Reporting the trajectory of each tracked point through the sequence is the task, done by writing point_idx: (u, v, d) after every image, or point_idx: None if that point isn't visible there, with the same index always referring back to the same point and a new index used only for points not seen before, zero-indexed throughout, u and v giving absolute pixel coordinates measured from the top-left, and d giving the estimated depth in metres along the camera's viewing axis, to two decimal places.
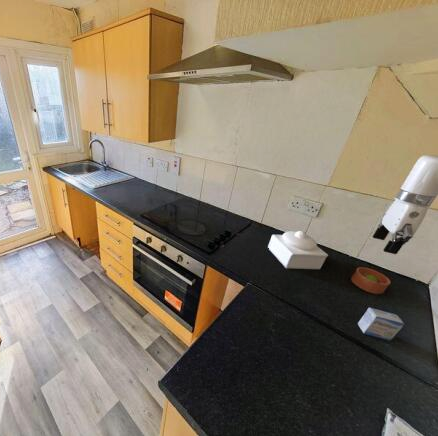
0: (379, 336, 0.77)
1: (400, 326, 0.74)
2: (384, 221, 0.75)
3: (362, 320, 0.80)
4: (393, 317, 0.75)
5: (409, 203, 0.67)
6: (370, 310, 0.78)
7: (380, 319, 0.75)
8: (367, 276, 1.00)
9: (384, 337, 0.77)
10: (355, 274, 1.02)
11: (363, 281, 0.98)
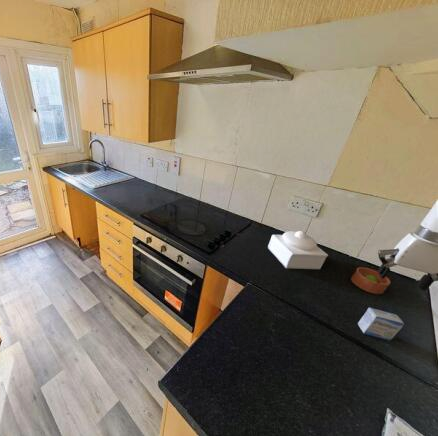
0: (379, 336, 0.77)
1: (400, 326, 0.74)
2: (407, 263, 0.67)
3: (362, 320, 0.80)
4: (393, 317, 0.75)
5: None
6: (370, 310, 0.78)
7: (380, 319, 0.75)
8: (367, 276, 1.00)
9: (384, 337, 0.77)
10: (355, 274, 1.02)
11: (363, 281, 0.98)
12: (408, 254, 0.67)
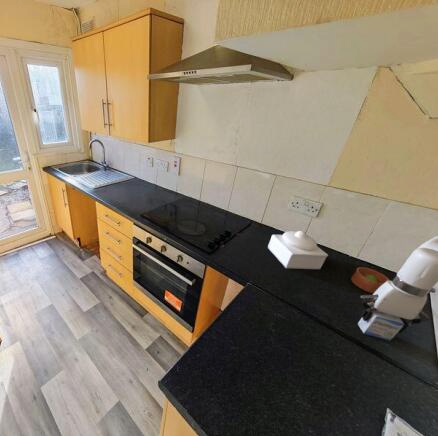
0: (379, 336, 0.77)
1: (400, 326, 0.74)
2: (386, 309, 0.73)
3: (362, 320, 0.80)
4: (393, 317, 0.75)
5: (425, 295, 0.67)
6: None
7: (380, 319, 0.75)
8: (367, 276, 1.00)
9: (384, 337, 0.77)
10: (355, 274, 1.02)
11: (363, 281, 0.98)
12: (386, 301, 0.72)
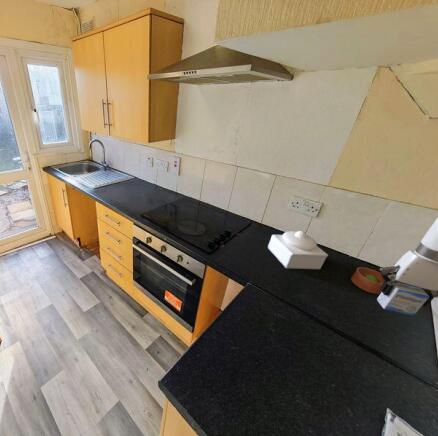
0: (401, 311, 0.72)
1: (425, 299, 0.68)
2: (409, 280, 0.68)
3: (381, 295, 0.75)
4: (416, 289, 0.70)
5: None
6: None
7: (402, 292, 0.69)
8: (367, 276, 1.00)
9: (407, 312, 0.71)
10: (355, 274, 1.02)
11: (363, 281, 0.98)
12: (409, 271, 0.67)
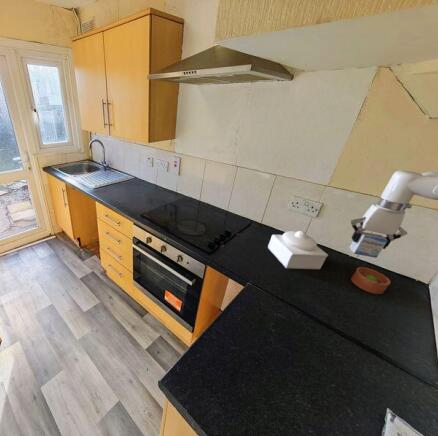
0: (367, 254, 0.91)
1: (384, 242, 0.87)
2: (372, 228, 0.87)
3: (353, 243, 0.94)
4: (378, 236, 0.89)
5: (403, 211, 0.81)
6: None
7: (367, 237, 0.89)
8: (367, 276, 1.00)
9: (371, 255, 0.91)
10: (355, 274, 1.02)
11: (363, 281, 0.98)
12: (372, 220, 0.86)
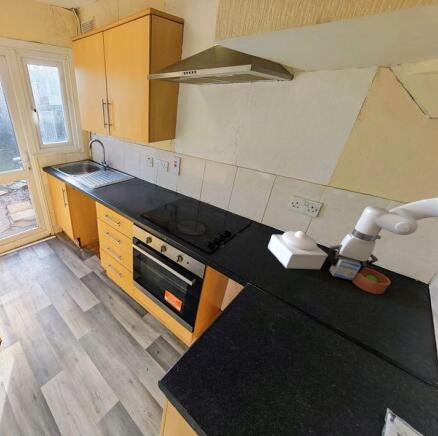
0: (344, 277, 1.02)
1: (358, 267, 0.99)
2: (347, 254, 0.98)
3: (332, 266, 1.05)
4: (353, 261, 1.00)
5: (373, 241, 0.93)
6: None
7: (343, 262, 1.00)
8: (367, 276, 1.00)
9: (347, 277, 1.02)
10: None
11: (363, 281, 0.98)
12: (347, 248, 0.97)
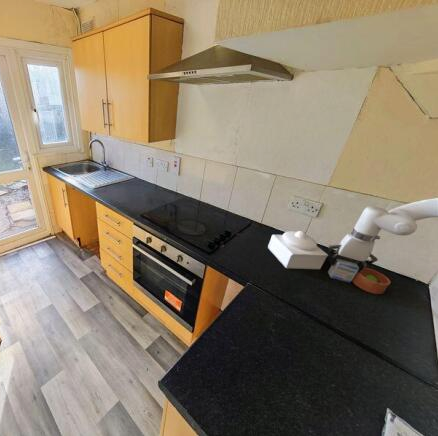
0: (342, 279, 1.03)
1: (356, 270, 0.99)
2: (346, 254, 0.98)
3: (330, 268, 1.06)
4: (352, 264, 1.01)
5: (372, 241, 0.93)
6: None
7: (341, 265, 1.01)
8: (367, 276, 1.00)
9: (345, 280, 1.03)
10: None
11: (363, 281, 0.98)
12: (346, 248, 0.97)
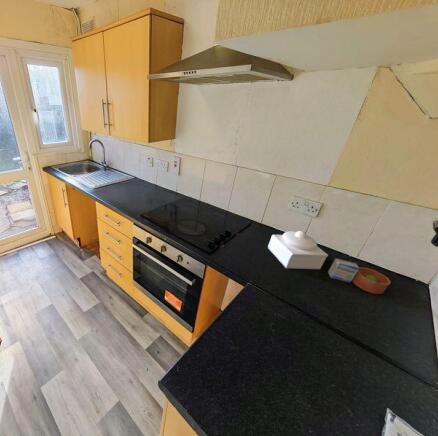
0: (342, 279, 1.03)
1: (356, 270, 0.99)
2: None
3: (330, 268, 1.06)
4: (352, 264, 1.01)
5: None
6: (335, 259, 1.04)
7: (341, 265, 1.01)
8: (367, 276, 1.00)
9: (345, 280, 1.03)
10: None
11: (363, 281, 0.98)
12: None
